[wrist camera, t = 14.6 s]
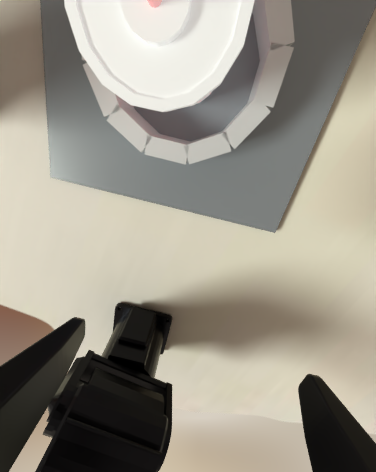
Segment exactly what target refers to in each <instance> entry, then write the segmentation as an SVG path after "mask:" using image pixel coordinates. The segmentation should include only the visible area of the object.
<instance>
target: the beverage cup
mask: <svg viewBox="0 0 376 472" xmlns="http://www.w3.org/2000/svg"><path fill="white" fill-rule="evenodd" d="M254 1H255V0H64V5H65V9H66V12H67V15H68V18H69V22H70V25H71V28H72V31H73V34H74V37H75V40H76V43H77V46H78V49H79V52H80V53H81V55H82V56H83V57H84V59H85V60H86V62H87V63H88V65H89V66H90V68H91V69H92V71H93V72H94V73H95V75H96V76H97V78H98V79H99V81H100V82H101V84H102V85H104V86H105V87H106V88H108V89H109V90H110V91H112V92H113V93H115V94H116V95H117V96H119V97H120V98H122V99H123V100H124V101H126V102H127V103H128V104H130V105H133V106H137V107H142V108H146V109H151V110H155V111H160V112H168V111H172V110H176V109H180V108H184V107H188V106H193V105H195V104H198V103H200V102H201V101H203V100H204V99H205V98H206V97H208V96H209V95H210V94H211V92H212V91H213V90H214V89H216V88H217V87H218V86H219V85H220V84H221V83H222V81H223V80H224V78H225V76H226V75H227V73H228V71H229V70H230V68H231V66H232V65H233V63H234V61H235V60H236V58H237V56H238V55H239V53H240V51H241V50H242V48H243V46H244V42H245V38H246V34H247V30H248V26H249V22H250V17H251V13H252V9H253V5H254Z"/></svg>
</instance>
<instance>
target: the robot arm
mask: <svg viewBox="0 0 376 472" xmlns="http://www.w3.org/2000/svg"><path fill="white" fill-rule="evenodd" d="M119 307H120V308H119ZM167 319H169V320H167ZM171 322H172V317H171V316H170V315H167V314H163V313H159V312H155V311H151V310H147V309H143V308H139V307H134V306H130V305H126V304H122V303H118V304H117V305H116V308H115V316H114V326H113V333H112V335H111V338H110V340H109V342H108V344H107V346H106V348H105V350H104V352H103V354H102V356H100V355H98V354H95V353H94V352H93V351H91V350H89V351H88V353H87V354H86V356H85V357H84V356H83V357H80V358H76V360H75V362H74V363H73V365H72V367H71V369H70V370H69V368H70V366H71V364H72V362H73V360H74V358H75V356H76V353H77V351H78V349H79V347H80V345H81V343H82V341H83V339H84V336H85V320H84V319H81V318H77V317H74V318H72V319H70V320H69V321H67V322H66V323H64V324H63V325H61V326H60V327H58V328H57V329H55V330H54V331H52V332H51V333H49V334H48V335H46V336H45V337H44V338H42V339H40V340H39V341H38V342H36V343H34V344H33V345H31V346H30V347H28V348H27V349H25V350H24V351H22V352H21V353H19V354H18V355H16V356H15V357H14V358H12V359H10V360H9V361H8V362H6V363H4V364H3V365H1V366H0V472H9V470H10V469H11V467H12V465H13V464H14V462H15V460H16V459H17V457H18V455H19V454H20V452H21V450H22V449H23V447H24V445H25V444H26V442H27V440H28V439H29V437H30V435H31V434H32V432H33V430H34V429H35V427H36V425H37V424H38V422H39V420H40V419H41V417H42V415H43V414H44V412H45V410H46V409H47V407H48V411H49V417H48V419H47V422H49V423H48V425H47V427H46V428H45V430H44V432H43V435H45V436H48V437H52V440H51V442H50V444H49V446H48V448H47V450H46V452H45V454H44V456H43V458H42V460H41V462H40V464H39V466H38V468H37V470H36V471H35V472H158V471H159V470H160V468H161V466H162V464H163V461H164V459H165V456H166V453H167V450H168V446H169V442H170V437H171V429H172V384H170V383H165V382H162V381H160V380H157V379H155V378H154V377H155V373H156V369H157V365H158V360H159V356H160V354H163V352H164V348H165V344H166V341H167V337H168V333H169V329H170V325H171ZM68 370H69V372H68ZM67 372H68V374H67ZM66 374H67V375H66ZM65 376H66V377H65ZM298 392H299V399H300V406H301V414H302V421H303V428H304V433H305V439H306V444H307V448H308V453H309V457H310V461H311V466H312V470H313V472H376V443H375V442H374V441H373V440H372V438H371V437H370V436H369V435H368V434H367V432H366V431H365V430H364V429H363V428H362V426H361V425H360V424H359V423H358V422H357V420H356V419H355V418H354V417H353V416H352V414H351V413H350V412H349V411H348V410H347V408H346V407H345V406H344V405H343V404H342V402H341V401H340V400H339V399H338V398H337V396H336V395H335V394H334V393H333V392H332V390H331V389H330V388H329V387H328V386H327V384H326V383H325V382H324V381H323V380H322V378H320V377H319V376H317V375H312V374H308V375H307V376H306V377H305V378H304V380H303V381H302V382H301V383H300V385H299V389H298Z"/></svg>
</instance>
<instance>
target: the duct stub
mask: <svg viewBox="0 0 376 472" xmlns="http://www.w3.org/2000/svg"><path fill="white" fill-rule="evenodd" d="M40 2H41V20H42V37H43V54H44V72H45V89H46V107H47V124H48V141H49V159H50V176H51V178H54V179H58V180H62V181H67V182H71V183H75V184H79V185H83V186H87V187H91V188H95V189H99V190H103V191H107V192H111V193H115V194H119V195H123V196H128V197H132V198H136V199H140V200H144V201H148V202H152V203H156V204H160V205H164V206H168V207H172V208H176V209H180V210H184V211H188V212H193V213H197V214H201V215H205V216H209V217H213V218H217V219H221V220H225V221H229V222H233V223H237V224H241V225H245V226H249V227H254V228H258V229H262V230H266V231H270V232H274V233H275V232H276V230H277V227H278V225H279V223H280V221H281V218H282V216H283V214H284V212H285V209H286V207H287V205H288V203H289V200H290V198H291V196H292V194H293V191H294V189H295V187H296V185H297V182H298V180H299V178H300V176H301V173H302V171H303V169H304V167H305V164H306V162H307V160H308V158H309V155H310V153H311V151H312V149H313V146H314V144H315V142H316V140H317V137H318V135H319V133H320V131H321V128H322V126H323V124H324V122H325V119H326V117H327V115H328V113H329V110H330V108H331V106H332V104H333V101H334V99H335V97H336V95H337V92H338V90H339V88H340V86H341V84H342V81H343V79H344V77H345V75H346V72H347V70H348V68H349V66H350V63H351V61H352V59H353V57H354V54H355V52H356V50H357V48H358V45H359V43H360V41H361V39H362V36H363V34H364V32H365V30H366V27H367V25H368V23H369V21H370V18H371V16H372V14H373V12H374V9H375V7H376V0H255V1H254V5H253V9H252V13H251V17H250V22H249V26H248V30H247V34H246V38H245V42H244V46H243V48H242V50H241V51H240V53H239V55H238V56H237V58H236V60H235V61H234V63H233V65H232V66H231V68H230V70H229V71H228V73H227V75H226V76H225V78H224V80H223V81H222V83H221V84H220V85H219V86H218V87H217V88H216V89H214V90H213V91H212V92H211V94H210V95H209V96H208V97H206V98H205V99H204V100H203V101H201V102H200V103H198V104H195V105H193V106H188V107H184V108H180V109H176V110H172V111H168V112H160V111H155V110H151V109H146V108H142V107H137V106H133V105H130V104H128V103H127V102H126V101H124V100H123V99H122V98H120V97H119V96H117V95H116V94H115V93H113V92H112V91H110V90H109V89H108V88H106V87H105V86H104V85H102V84H101V82H100V81H99V79H98V78H97V76H96V75H95V73H94V72H93V71H92V69H91V68H90V66H89V65H88V63H87V62H86V60H85V59H84V57H83V56H82V55H81V53H80V52H79V49H78V46H77V43H76V40H75V37H74V34H73V31H72V28H71V25H70V22H69V18H68V15H67V12H66V9H65V5H64V0H40Z"/></svg>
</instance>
